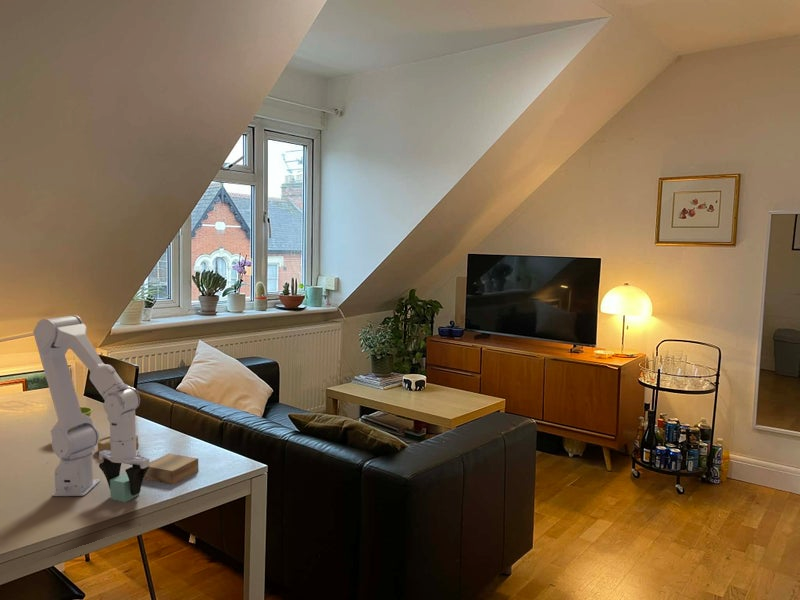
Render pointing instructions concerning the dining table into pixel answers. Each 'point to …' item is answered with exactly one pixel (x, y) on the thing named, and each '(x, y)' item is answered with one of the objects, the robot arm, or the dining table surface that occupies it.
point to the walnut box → (171, 468)
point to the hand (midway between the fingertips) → (124, 491)
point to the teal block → (121, 488)
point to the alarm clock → (109, 444)
